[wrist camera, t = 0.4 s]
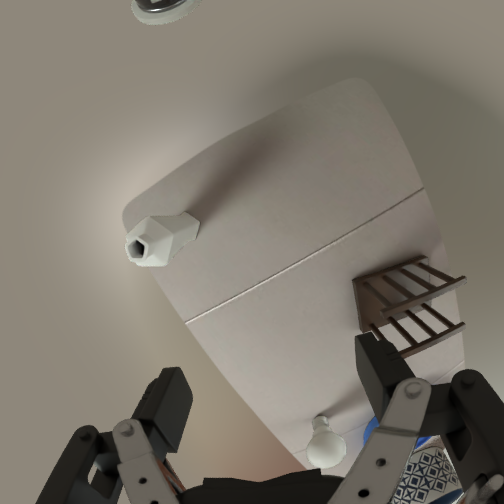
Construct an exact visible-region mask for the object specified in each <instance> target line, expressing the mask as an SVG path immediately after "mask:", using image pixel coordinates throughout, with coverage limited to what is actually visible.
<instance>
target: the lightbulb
mask: <svg viewBox="0 0 504 504" xmlns="http://www.w3.org/2000/svg"><path fill="white" fill-rule="evenodd" d="M312 425H313V430H314V432H313V437H312V439H311V440H310V442H309V443H308V445H307V448H306V456H307V459H308V461H309V462H310V463H311V464H312V465H313V466H315V467H317V468H320V469H329V468H332V467H335V466H337V465H338V464H340V463H341V462H342V461H343V459H344V458H345V456H346V453H347V445H346V442H345V440H344V439H343V438H342V437H341V436H340V435H338V434H336V433H334V432H333V431H332V429H331V428H330V427H329V424H328V420H327V418H326V417H324V416H319V417H316V418H315V419H313V421H312Z"/></svg>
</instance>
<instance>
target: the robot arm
mask: <svg viewBox="0 0 504 504" xmlns="http://www.w3.org/2000/svg"><path fill="white" fill-rule="evenodd" d="M135 1H136V3H137V5H138V7H139V8H140V9H141V10H142V11H143V12H146V13H162V12H166V11H169V10H171V9H174V8H176V7H178V6H180V5H181V4H183V3H184V2H185V1H187V0H135ZM355 353H356V367H357V371H358V375H359V377H360V380H361V382H362V384H363V387H364V389H365V391H366V394H367V396H368V398H369V401H370V403H371V406H372V408H373V411H374V413H375V415H376V418H377V420H378V423H379V426H378V427H375V428H374V429H373V430H372V432H371V434H370V436H369V438H368V439H367V441H366V443H365V445H364V447H363V448H362V450H361V452H360V454H359V455H358V457H357V459H356V461H355V462H354V464H353V465H352V467H351V469H350V470H349V472H348V474H347V475H346V477H345V478H344V477H340V476H334V475H321V469H320V468H317V469H312V470H306V471H300V472H294V473H289V474H286V475H283V476H280V477H277V478H273V479H270V480H267V481H263V482H253V481H247V480H241V479H235V478H204V480H203V485H200V486H196V487H193V488H190V489H187V490H186V489H185V487H184V486H183V485H182V483H181V481H180V480H179V478H178V477H177V475H176V473H175V472H174V470H173V469H172V467H171V465H170V463H169V461H168V460H167V459H166V454H167V452H168V453H177V450H178V447H179V444H180V441H181V438H182V434H183V431H184V428H185V425H186V421H187V418H188V415H189V412H190V409H191V406H192V402H193V395H192V391H191V389H190V387H189V385H188V383H187V381H186V378H185V376H184V374H183V372H182V370H181V368H180V367H170V368H163V369H162V371H161V373H160V375H159V377H158V378H156V379H154V380H153V381H152V382H151V383H150V384H149V385H148V387H147V389H146V391H145V394H143V396H142V400H140V402H139V404H138V406H137V408H136V409H135V411H134V413H133V415H132V417H131V419H126V420H123V421H121V422H119V423H118V424H117V425H116V426H115V427H114V429H113V431H110V432H104V433H99V432H98V430H97V429H96V428H95V427H94V426H91V425H86V426H83V427H80V428H79V429H77V430H76V431H75V433H74V434H73V436H72V438H71V439H70V441H69V443H68V445H67V446H66V448H65V450H64V451H63V453H62V455H61V457H60V458H59V460H58V462H57V464H56V466H55V467H54V469H53V471H52V473H51V475H50V477H49V478H48V480H47V482H46V484H45V486H44V488H43V490H42V492H41V494H40V496H39V498H38V500H37V502H36V504H117V502H118V499H119V496H120V493H121V490H122V487H123V485H124V488H125V490H126V493H127V495H128V498H129V500H130V503H131V504H393V503H391V501H392V499H393V498H394V496H395V494H396V492H397V490H398V487H399V485H400V483H401V481H402V479H403V476H404V474H405V472H406V469H407V467H408V465H409V462H410V460H411V457H412V455H413V452H414V450H415V447H416V445H417V442H418V439H419V438H422V437H429V436H436V435H440V437H441V439H442V441H443V443H444V445H445V448H446V450H447V452H448V454H449V457H450V459H451V461H452V464H453V466H454V469H455V471H456V474H457V476H458V479H459V481H460V484H461V486H462V489H463V492H464V494H463V495H462V496H461V498H460V499H459V500H458V502H457V504H504V403H503V402H502V401H501V399H500V398H499V396H498V395H497V394H496V392H495V391H494V390H493V388H492V387H491V386H490V384H489V383H488V382H487V381H486V379H485V378H484V377H483V375H482V374H481V373H479V372H478V371H476V370H472V369H465V370H462V371H459V372H458V373H456V374H455V375H454V376H453V378H452V381H451V383H445V384H439V385H430V384H429V383H428V382H427V381H426V380H424V379H422V378H416V376H415V375H414V373H413V372H412V371H411V369H410V368H409V366H408V365H407V363H406V362H405V360H404V359H403V358H402V356H401V355H400V353H399V352H398V350H397V349H396V347H395V346H394V345H393V343H391V342H389V341H387V340H385V339H383V340H379V341H377V339H376V338H375V336H374V335H373V333H372V332H368V333H364V334H360V335H357V336H355ZM93 464H94V465H95V466H96V467H97V471H96V473H95V475H94V477H93V480H92V482H91V484H89V482H88V474H89V472H90V469H91V467H92V465H93Z"/></svg>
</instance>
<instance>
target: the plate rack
mask: <svg viewBox="0 0 504 504" xmlns="http://www.w3.org/2000/svg"><path fill="white" fill-rule="evenodd" d="M429 273H431V274H432V275H434V276H436V277H438V278H440V279H442V280H444V281H446V282H448V283H445V284H443V285H441V286H439V287H436V286H434V285H432V284H430V274H429ZM352 283H353V288H354V294H355V299H356V305H357V311H358V318H359V324H360V330H361V331H362V333H365V332H368V331H371V330H372V331H373V332H374V334H375V335H376V336H377V338H378V339H379V340H383V339H385V340H387V339H386V338H385V337H384V335H383V334H382V333H381V332H380V331H379V329H378V328H379V327H382V326H384V325H387V324H390V323H391V324H392V325H393V326H394V327H395V328H396V330H397V331H398V332H399V333H400V334H401V335H402V336H403V337H404V338H405V339H406V340H407V341H408V342H409V344H410V345H411V347H408V348H406V349H404V350H401V351H399V353H400V355H401V356H402V358H403V359H405V358H407V357H409V356H411V355H414V354H416V353H418V352H420V351H423V350H425V349H427V348H429V347H431V346H433V345H435V344H437V343H439V342H441V341H443V340H445V339H447V338H449V337H451V336H453V335H455V334H457V333H459V332H461V331H462V330H464V329H465V325H466V324H465V323H464V322H461V323H459V324H457V325H454V324H453V323H452V322H450V321H449V320H448V319H446V318H445V317H444V316H442V315H441V314H440V313H438V312H437V311H436V310H434V309H433V308H431V299H433V298H436V297H438V296H440V295H442V294H444V293H447V292H449V291H451V290H453V289H455V288H457V287H459V286H461V285H463V284H466V283H467V279H466V277H465V276H461V277H459V278H457V279H454V278H453V277H451V276H449V275H446V274H444V273H442V272H440V271H438V270H436V269H434V268H432V267H430V266H429V263H428V257H426V256H421V257H418V258H415V259H413V260H410V261H407V262H404V263H401V264H399V265H396V266H393V267H390V268H387V269H384V270H381V271H378V272H375V273H372V274H369V275H366V276H363V277H360V278H357V279H354V280H352ZM424 309H425V310H426V311H428V312H429V313H430V314H431V315H433V316H434V317H435V318H437V319H438V320H439V321H440V322H442V323H443V324H444V325H446V326H447V327H448V328H449V329H447V330H445V331H443V332H441V333H439V334H437V333H436V332H435V331H433V330H432V329H431V328H430V327H429V326H428V325H427V324H425V323H424V322H423V321H422V320H421V319H420V318H418V317H417V316H416V315H415V313H417V312H419V311H422V310H424ZM407 316H409V317H410V318H411V319H412V320H413V321H414V322H415V323H416V324H417V325H419V326H420V327H421V328H422V329H423V330H424V331H425V332H426V333H427V334H428V335H430V336H431V338H429V339H426V340H424V341H422V342H420V343H418V342H417V341H416V340H415V339H414V338H413V337H412V336H411V335H410V334H409V333H408V332H407V331H406V330H405V329H404V328H403V327H402V326H401V325H400V324H399V323H398V322H397V320H400V319H402V318H405V317H407ZM387 341H388V340H387Z"/></svg>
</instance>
